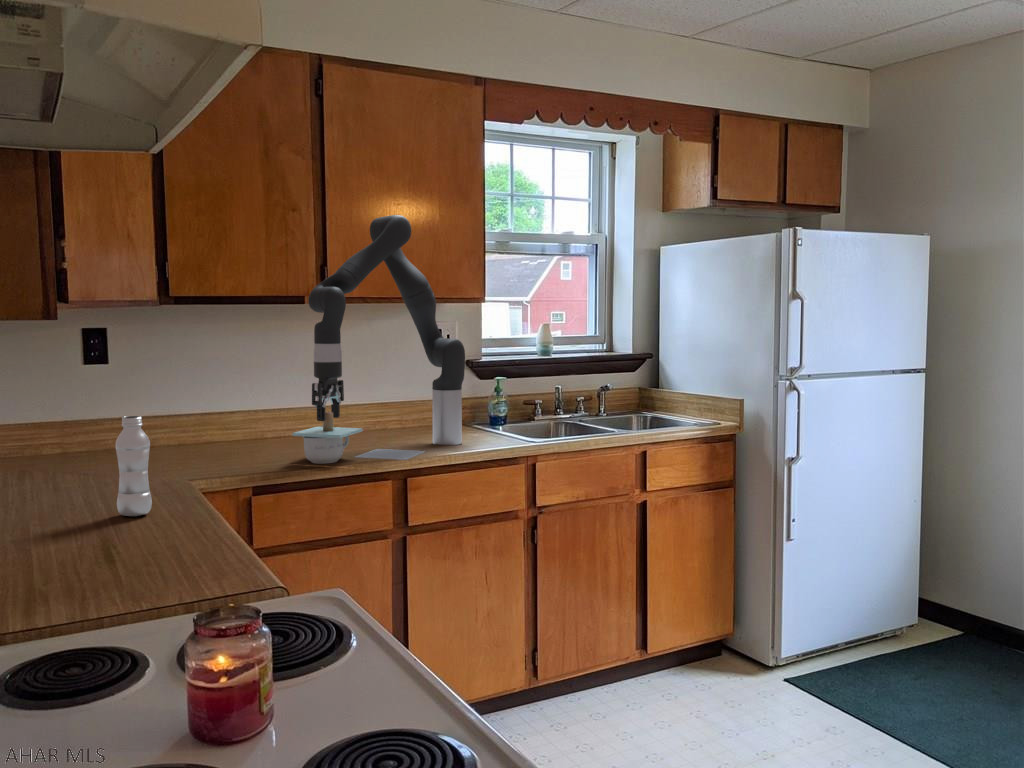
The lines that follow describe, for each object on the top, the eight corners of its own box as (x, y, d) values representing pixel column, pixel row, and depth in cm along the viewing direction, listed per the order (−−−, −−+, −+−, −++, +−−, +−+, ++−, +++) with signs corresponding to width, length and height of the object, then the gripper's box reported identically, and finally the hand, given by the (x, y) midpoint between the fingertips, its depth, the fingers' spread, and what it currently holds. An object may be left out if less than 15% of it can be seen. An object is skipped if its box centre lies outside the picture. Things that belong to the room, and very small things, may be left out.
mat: (376, 450, 255) (376, 448, 255) (426, 452, 251) (426, 451, 251) (353, 458, 239) (353, 457, 239) (406, 461, 235) (406, 459, 235)
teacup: (314, 467, 225) (314, 437, 224) (296, 462, 233) (296, 433, 233) (361, 462, 234) (360, 433, 233) (342, 457, 242) (341, 429, 242)
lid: (317, 429, 241) (317, 409, 241) (362, 431, 238) (362, 410, 237) (292, 435, 228) (292, 414, 227) (340, 438, 224) (339, 416, 224)
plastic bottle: (142, 510, 175) (139, 414, 173) (158, 515, 171) (155, 416, 169) (110, 516, 170) (107, 417, 168) (127, 521, 166) (123, 419, 164)
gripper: (328, 361, 224) (328, 422, 225) (351, 359, 237) (352, 416, 239) (302, 361, 226) (303, 421, 227) (327, 358, 239) (328, 415, 241)
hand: (328, 419), depth 233 cm, fingers open, 8 cm apart
